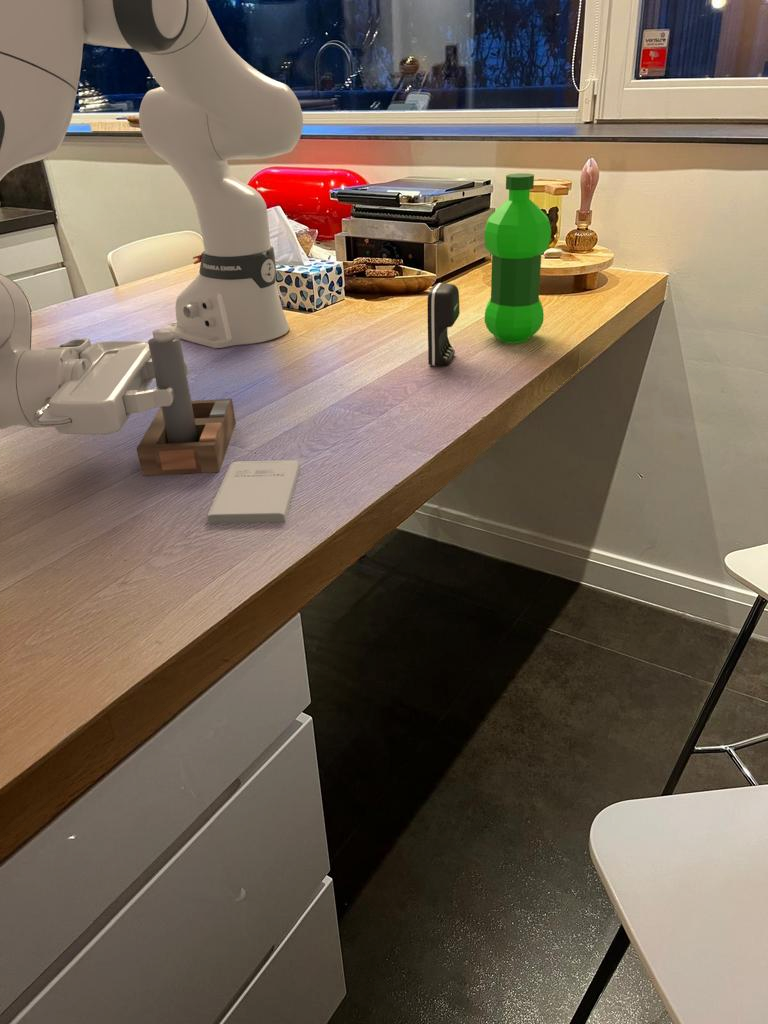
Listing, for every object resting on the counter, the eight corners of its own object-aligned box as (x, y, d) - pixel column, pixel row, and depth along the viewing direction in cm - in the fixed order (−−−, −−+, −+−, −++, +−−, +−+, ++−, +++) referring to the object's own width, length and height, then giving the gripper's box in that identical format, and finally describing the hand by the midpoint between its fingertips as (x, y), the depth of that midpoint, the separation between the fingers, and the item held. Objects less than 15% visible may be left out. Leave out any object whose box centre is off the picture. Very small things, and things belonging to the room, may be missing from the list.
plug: (166, 461, 94) (139, 332, 86) (189, 451, 97) (165, 324, 89) (184, 469, 93) (159, 338, 84) (207, 458, 95) (185, 329, 87)
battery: (452, 368, 118) (452, 293, 112) (427, 367, 119) (426, 292, 113) (460, 353, 124) (461, 280, 118) (437, 352, 125) (436, 280, 119)
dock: (218, 472, 91) (213, 443, 89) (142, 476, 91) (135, 447, 89) (236, 422, 104) (232, 395, 102) (168, 425, 104) (163, 399, 102)
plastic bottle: (506, 352, 123) (513, 182, 111) (470, 335, 131) (472, 175, 119) (557, 340, 127) (569, 175, 114) (518, 324, 135) (526, 168, 123)
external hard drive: (208, 527, 82) (232, 472, 93) (286, 526, 81) (300, 471, 92) (206, 514, 81) (230, 460, 92) (284, 512, 81) (299, 458, 91)
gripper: (17, 396, 79) (153, 390, 79) (80, 333, 97) (191, 328, 97) (34, 452, 82) (165, 446, 82) (92, 381, 100) (200, 376, 100)
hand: (179, 382), depth 90 cm, fingers open, 7 cm apart
